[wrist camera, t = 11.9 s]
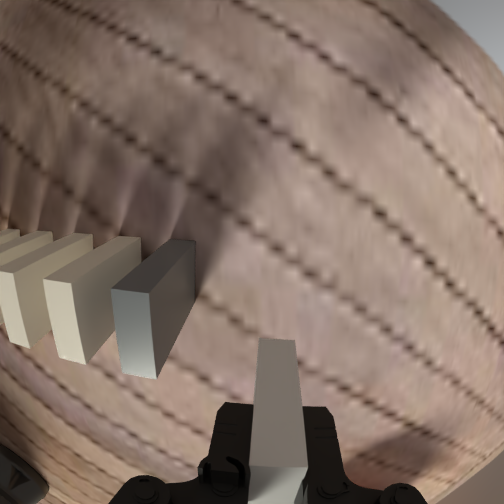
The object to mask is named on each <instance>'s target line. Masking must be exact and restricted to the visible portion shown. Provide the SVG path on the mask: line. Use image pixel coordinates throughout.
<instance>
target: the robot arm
mask: <svg viewBox="0 0 504 504" xmlns="http://www.w3.org/2000/svg"><path fill="white" fill-rule="evenodd" d="M335 428H336V427H335V422H334V418H333V415H332V414H331V413H330V412H329V410H328V409H327V408H326V407H310V406H302V399H301V390H300V381H299V372H298V363H297V354H296V346H295V340H281V339H267V338H259V344H258V355H257V366H256V377H255V388H254V400H253V405H252V404H240V403H230V402H225V403H224V404H223V405H222V406H221V408H220V409H219V410H218V411H217V415H216V420H215V425H214V430H213V434H212V439H211V444H210V449H209V453H208V456H207V457H205V458H204V459H203V460H202V461H201V462H200V464H199V466H198V477H197V478H195V479H193V480H190V481H187V482H181V483H166V484H165V482H163V481H162V480H160V479H158V478H157V477H153V476H149V475H139V476H136V477H133V478H131V479H129V480H128V481H127V482H126V483H125V484H124V485H123V486H122V487H121V489H120V490H119V491H118V492H117V494H116V495H115V496H114V497H113V499H112V500H111V501H110V502H109V503H108V504H427V502H426V501H425V499H424V498H423V496H422V495H421V493H420V492H419V491H418V490H417V489H416V488H415V487H413V486H411V485H409V484H404V483H397V484H392V485H390V486H389V487H387V488H385V490H384V491H382V490H375V489H368V488H364V487H360V486H358V485H356V484H354V483H352V482H351V481H350V480H349V479H348V478H347V476H346V475H345V472H344V469H343V463H342V458H341V453H340V448H339V442H338V439H337V432H336V430H335ZM48 491H49V488H48V485H47V484H46V482H45V481H44V480H43V479H42V477H41V476H40V475H39V474H38V473H37V472H36V471H35V470H34V469H33V468H31V467H30V466H29V465H28V464H27V463H26V462H25V461H23V460H22V459H21V458H20V457H18V456H17V455H16V454H14V453H13V452H12V451H10V450H9V449H7V448H6V447H4V446H2V445H0V504H36V503H38V502H39V501H40V500H41V499H43V498H44V497H45V496H46V494H47V493H48Z"/></svg>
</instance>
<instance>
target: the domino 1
mask: <svg viewBox="0 0 504 504" xmlns="http://www.w3.org/2000/svg"><path fill="white" fill-rule="evenodd" d="M52 242H53V234H52V231H34V232H32V233H29V234H26V235H24V236H21V237H19V238H16V239H14V240H11V241H9V242H6V243H4V244H1V245H0V266H2V265H4V264H6V263H8V262H10V261H12V260H15V259H17V258H19V257H21V256H23V255H25V254H27V253H29V252H32V251H34V250H36V249H38V248H40V247H43V246H45V245H47V244H49V243H52ZM2 323H4V318H3V314H2V310H1V306H0V325H1V324H2Z"/></svg>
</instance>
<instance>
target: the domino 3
mask: <svg viewBox="0 0 504 504" xmlns="http://www.w3.org/2000/svg"><path fill="white" fill-rule="evenodd" d="M141 262H142V258H141V237H127V236H117V237H115V238H114V239H112V240H110V241H108V242H106V243H104V244H103V245H101V246H99V247H97V248H95V249H93V250H92V251H90V252H88V253H86V254H85V255H83V256H81V257H79V258H77V259H76V260H74V261H72V262H71V263H69V264H67V265H65V266H64V267H62V268H60V269H59V270H57V271H55V272H53V273H52V274H50V275H48V276H47V277H45V278H44V279H43V284H44V290H45V296H46V301H47V307H48V312H49V317H50V321H51V326H52V330H53V335H54V339H55V343H56V347H57V351H58V355H59V358H62V359H66V360H70V361H73V362H77V363H81V364H85V365H87V363H88V362H89V361H90V360H91V358H92V357H93V356H94V355H95V354H96V352H97V351H98V350H99V349H100V347H101V346H102V345H103V344H104V343H105V341H106V340H107V339H108V338H109V337H110V335H111V334H112V333H113V332H114V331H115V323H114V315H113V306H112V297H111V288H112V287H113V286H114V285H115V284H117V283H118V282H119V281H120V280H121V279H122V278H124V277H125V276H126V275H127V274H128V273H129V272H131V271H132V270H133V269H134V268H135V267H137V266H138V265H139V264H140V263H141Z"/></svg>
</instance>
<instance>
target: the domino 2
mask: <svg viewBox="0 0 504 504" xmlns="http://www.w3.org/2000/svg"><path fill="white" fill-rule="evenodd" d="M92 250H93V234H83V233H72V234H70V235H68V236H65V237H63V238H61V239H58V240H56V241H54V242H52V243H49V244H47V245H45V246H43V247H40V248H38V249H36V250H34V251H32V252H29V253H27V254H25V255H23V256H21V257H19V258H17V259H15V260H12V261H10V262H8V263H6V264H4V265H2V266H0V306H1V310H2V314H3V318H4V322H5V325H6V329H7V333H8V336H9V340H10V342H12V343H15V344H18V345H21V346H24V347H27V348H31V347H32V346H34V345H35V344H36V343H37V342H38V341H39V340H40V339H41V338H42V337H44V336H45V335H46V334H47V333H48V332H49V331H50V330H51V329H52V326H51V321H50V317H49V312H48V307H47V301H46V296H45V290H44V284H43V279H44V278H45V277H47V276H48V275H50V274H52V273H53V272H55V271H57V270H59V269H60V268H62V267H64V266H65V265H67V264H69V263H71V262H72V261H74V260H76V259H77V258H79V257H81V256H83V255H85V254H86V253H88V252H90V251H92Z"/></svg>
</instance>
